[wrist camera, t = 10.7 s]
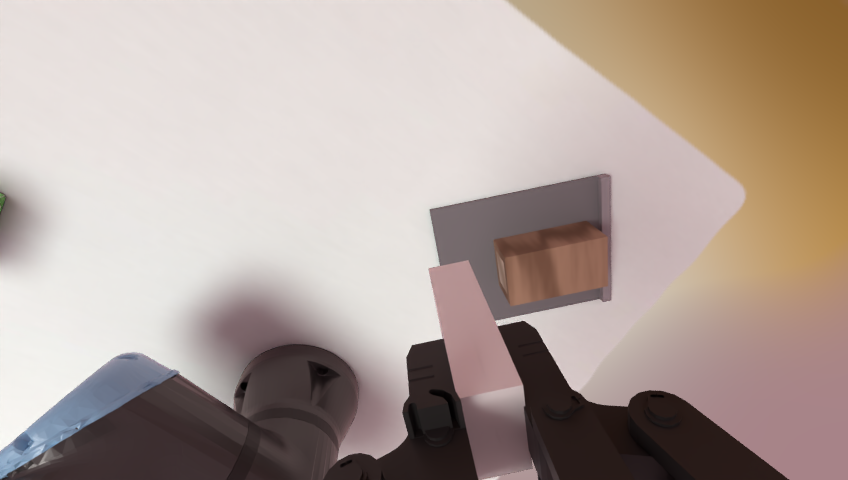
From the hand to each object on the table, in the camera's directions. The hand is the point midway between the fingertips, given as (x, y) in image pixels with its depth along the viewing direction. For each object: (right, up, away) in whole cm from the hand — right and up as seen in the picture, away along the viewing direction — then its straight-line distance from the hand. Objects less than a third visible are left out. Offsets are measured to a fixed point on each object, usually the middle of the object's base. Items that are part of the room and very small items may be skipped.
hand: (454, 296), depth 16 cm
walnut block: (+8, -2, +31) cm, 32 cm away
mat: (+11, 0, +34) cm, 36 cm away
